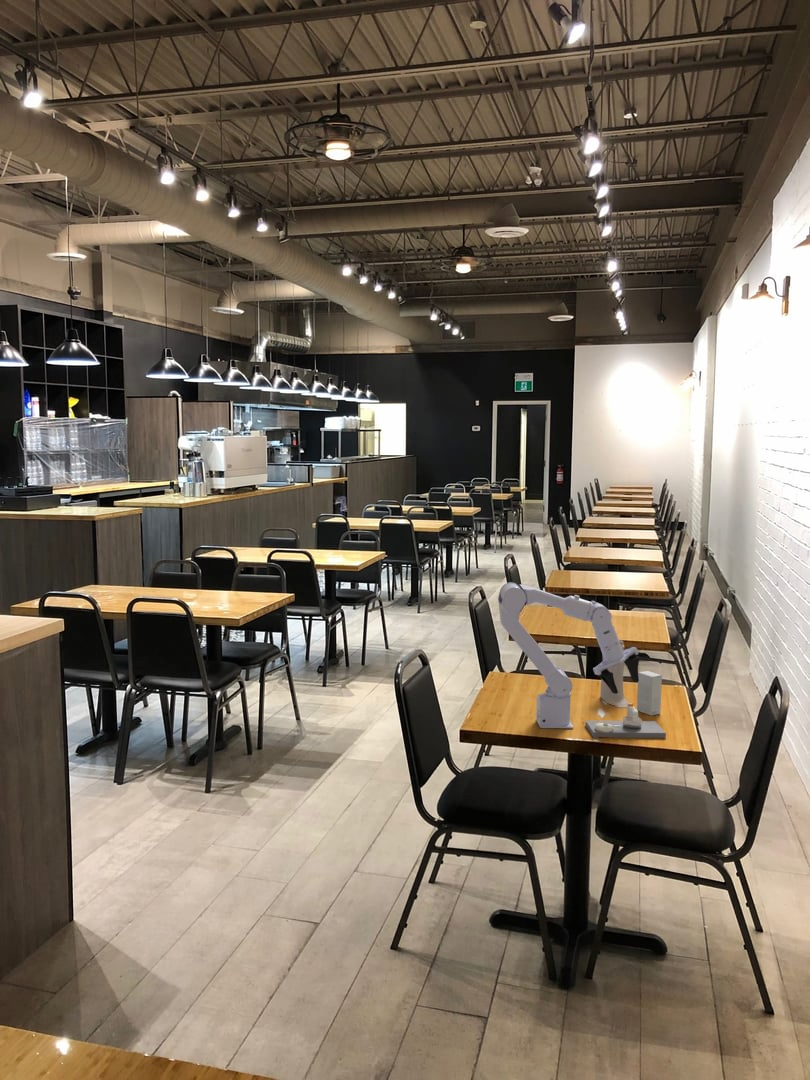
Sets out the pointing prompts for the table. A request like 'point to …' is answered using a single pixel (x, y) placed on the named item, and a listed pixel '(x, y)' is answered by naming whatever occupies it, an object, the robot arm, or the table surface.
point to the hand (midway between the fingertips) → (625, 687)
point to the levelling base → (624, 730)
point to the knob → (632, 718)
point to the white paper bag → (607, 694)
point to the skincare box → (649, 693)
